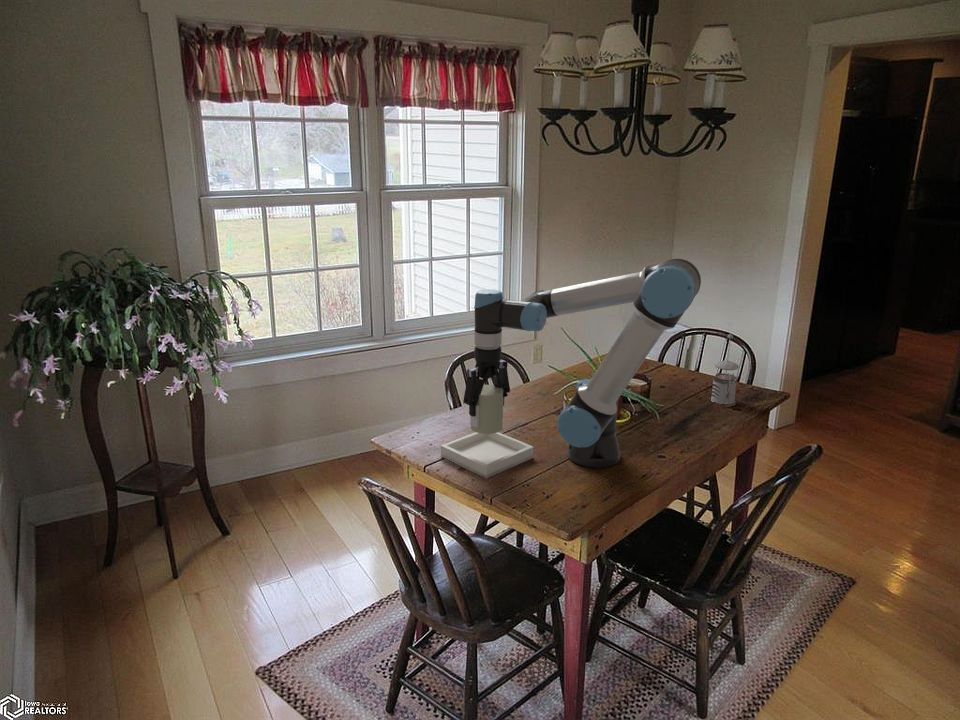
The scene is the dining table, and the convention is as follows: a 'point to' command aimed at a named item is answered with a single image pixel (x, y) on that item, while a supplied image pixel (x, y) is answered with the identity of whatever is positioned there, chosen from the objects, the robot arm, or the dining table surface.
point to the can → (490, 410)
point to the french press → (724, 382)
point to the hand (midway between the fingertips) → (486, 421)
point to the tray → (487, 453)
